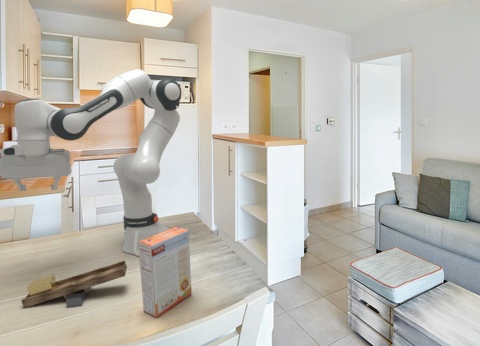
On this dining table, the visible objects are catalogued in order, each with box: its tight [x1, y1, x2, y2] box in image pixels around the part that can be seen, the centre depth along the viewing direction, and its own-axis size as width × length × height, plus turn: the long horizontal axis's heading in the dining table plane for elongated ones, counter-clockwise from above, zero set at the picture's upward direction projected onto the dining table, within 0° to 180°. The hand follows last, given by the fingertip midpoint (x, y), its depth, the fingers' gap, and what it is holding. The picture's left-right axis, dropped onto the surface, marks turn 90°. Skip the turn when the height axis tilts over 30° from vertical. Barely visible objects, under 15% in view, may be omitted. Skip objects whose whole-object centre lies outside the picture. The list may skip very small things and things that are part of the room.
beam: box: [21, 260, 128, 309], centre depth 92 cm, size 28×6×4 cm, turn 103°
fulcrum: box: [65, 289, 89, 308], centre depth 92 cm, size 4×12×2 cm, turn 15°
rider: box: [26, 274, 58, 297], centre depth 89 cm, size 6×4×4 cm, turn 103°
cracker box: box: [138, 226, 192, 319], centre depth 87 cm, size 14×6×21 cm, turn 145°
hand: (38, 190), depth 102 cm, fingers open, 8 cm apart
